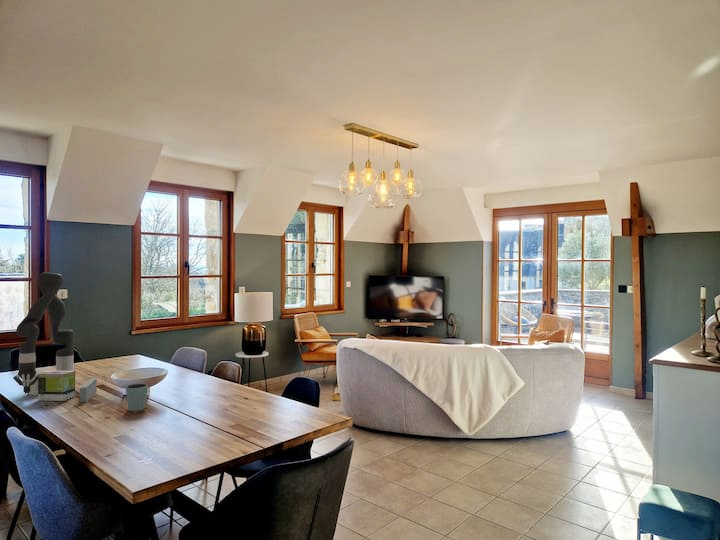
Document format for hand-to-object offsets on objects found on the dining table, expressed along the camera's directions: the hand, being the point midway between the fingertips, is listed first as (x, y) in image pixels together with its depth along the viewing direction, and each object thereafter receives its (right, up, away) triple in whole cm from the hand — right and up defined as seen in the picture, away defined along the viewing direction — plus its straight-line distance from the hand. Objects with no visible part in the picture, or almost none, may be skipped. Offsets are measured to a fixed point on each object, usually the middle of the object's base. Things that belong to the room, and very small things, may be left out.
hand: (26, 393), depth 264 cm
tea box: (+14, -4, +4) cm, 15 cm away
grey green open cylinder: (+65, -5, -13) cm, 67 cm away
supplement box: (-3, -4, +14) cm, 15 cm away
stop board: (+29, -4, +8) cm, 30 cm away
